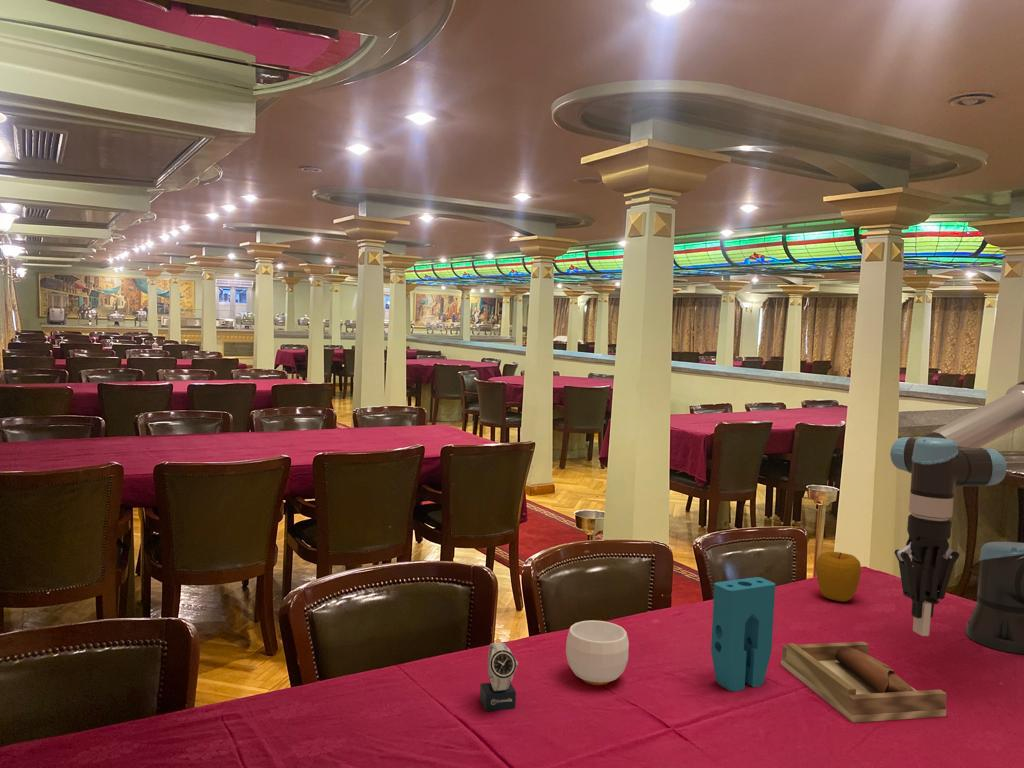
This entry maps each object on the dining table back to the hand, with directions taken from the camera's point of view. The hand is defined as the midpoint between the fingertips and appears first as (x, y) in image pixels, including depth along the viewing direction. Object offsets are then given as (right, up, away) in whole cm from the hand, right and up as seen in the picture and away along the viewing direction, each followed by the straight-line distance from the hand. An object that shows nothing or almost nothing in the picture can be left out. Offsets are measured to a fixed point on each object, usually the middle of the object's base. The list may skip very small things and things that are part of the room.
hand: (920, 633), depth 149 cm
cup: (-65, -9, -1) cm, 65 cm away
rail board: (-13, -10, -2) cm, 17 cm away
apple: (+5, -8, +50) cm, 51 cm away
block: (-36, -10, -1) cm, 38 cm away
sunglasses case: (-9, -10, -1) cm, 13 cm away
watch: (-84, -9, -13) cm, 85 cm away
